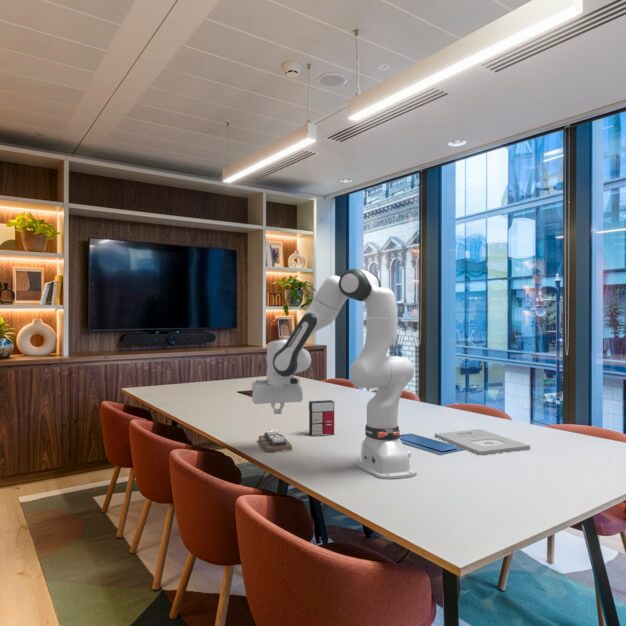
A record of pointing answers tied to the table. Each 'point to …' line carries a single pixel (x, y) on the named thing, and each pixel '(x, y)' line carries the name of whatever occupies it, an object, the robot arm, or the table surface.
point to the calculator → (321, 417)
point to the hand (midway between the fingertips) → (277, 413)
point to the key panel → (274, 444)
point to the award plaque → (482, 442)
